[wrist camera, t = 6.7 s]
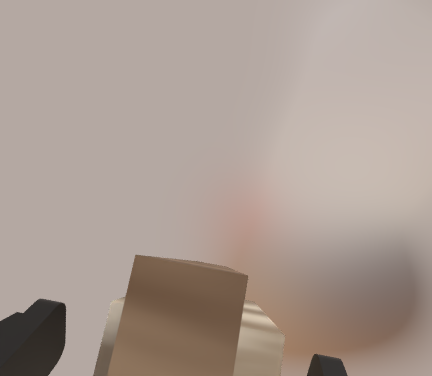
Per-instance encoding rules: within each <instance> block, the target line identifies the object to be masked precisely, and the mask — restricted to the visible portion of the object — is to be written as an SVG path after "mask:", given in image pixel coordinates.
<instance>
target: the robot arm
mask: <svg viewBox="0 0 432 376" xmlns="http://www.w3.org/2000/svg"><path fill="white" fill-rule="evenodd" d="M65 330H66V306H65V304H64V303H61V302H56V301H51V300H46V299H39V300H37V301H36V302H35V303H34V304H33V305H31V306H30V307H29V308H28V309H27V310H26V311H25V312H24V313H19V312H17V313H15V314H13V315H11V316H9V317H7V318H5V319H3V320H2V321H0V376H48V375H49V374H50V372H51V371H52V369H53V368H54V367H55V365H56V364H57V362H58V361H59V359H60V357H61V355H62V352H63V350H64V346H65V333H66V331H65ZM307 376H347V373H346V370H345V368H344V365H343V362H342V361H341V359H339V358H334V357H328V356H323V355H318V354H314V356H313V358H312V360H311V364H310V367H309V370H308V374H307Z"/></svg>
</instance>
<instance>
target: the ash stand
mask: <svg viewBox="0 0 432 376" xmlns="http://www.w3.org/2000/svg"><path fill="white" fill-rule="evenodd" d="M125 298H126V297H123V298H120V299H117V300H114V301H112V302H111V305H110V309H109V314H108V318H107V322H106V326H105V330H104V335H103V338H102V342H101V347H100V350H99V354H98V359H97V362H96V367H95V371H94V375H93V376H107V374H108V370H109V365H110V361H111V357H112V353H113V348H114V344H115V340H116V336H117V332H118V327H119V323H120V319H121V315H122V310H123V306H124V302H125ZM284 340H285V335H284V334H283V333H282V332H281V331H280V329H279V328H278V327H277V326H276V325H275V324H274V323H273V322H272V321H271V320H270V319H269V318H268V316H267V315H266V314H265V313H264V312H263V311H262V310H261V309H260V308H259V307H258V306H257V305H256V303H255V302H253V301H247V300H244V307H243V314H242V320H241V327H240V333H239V340H238V347H237V353H236V360H235V366H234V373H233V376H280V374H281V365H282V357H283V348H284Z"/></svg>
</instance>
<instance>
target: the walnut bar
mask: <svg viewBox="0 0 432 376" xmlns="http://www.w3.org/2000/svg"><path fill="white" fill-rule="evenodd" d="M247 280H248V276H247V275H244V274H242V273H240V272H237V271H235V270H233V269H230V268H228V267H225V266H219V265H214V264H208V263H203V262H197V261H188V260H178V259H169V258H160V257H151V256H141V255H135V259H134V264H133V268H132V272H131V276H130V281H129V285H128V289H127V293H126V298H125V302H124V306H123V310H122V315H121V319H120V323H119V327H118V332H117V336H116V340H115V344H114V348H113V353H112V357H111V361H110V365H109V370H108V374H107V376H233V373H234V366H235V360H236V353H237V347H238V340H239V333H240V327H241V320H242V314H243V307H244V300H245V293H246V287H247Z"/></svg>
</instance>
